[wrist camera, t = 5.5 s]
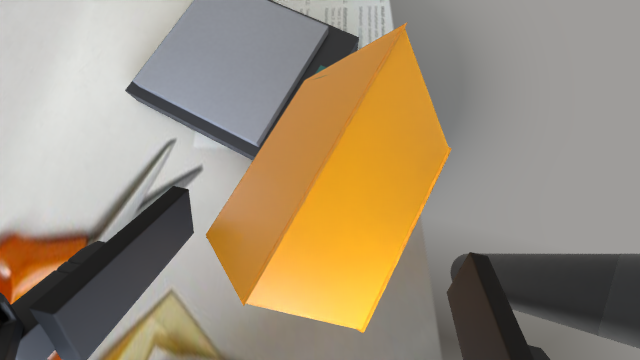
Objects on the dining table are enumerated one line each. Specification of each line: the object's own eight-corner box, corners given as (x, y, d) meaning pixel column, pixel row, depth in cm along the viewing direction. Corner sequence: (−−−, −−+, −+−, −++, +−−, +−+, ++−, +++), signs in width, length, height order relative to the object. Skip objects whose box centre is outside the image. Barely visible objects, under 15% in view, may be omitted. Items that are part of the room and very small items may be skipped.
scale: (357, 50, 31) (360, 29, 28) (284, 176, 28) (279, 167, 25) (219, -9, 34) (209, -34, 31) (137, 100, 30) (117, 84, 28)
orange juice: (388, 203, 27) (543, 75, 8) (344, 290, 25) (398, 414, 6) (316, 164, 28) (289, -32, 9) (269, 245, 26) (103, 225, 7)
